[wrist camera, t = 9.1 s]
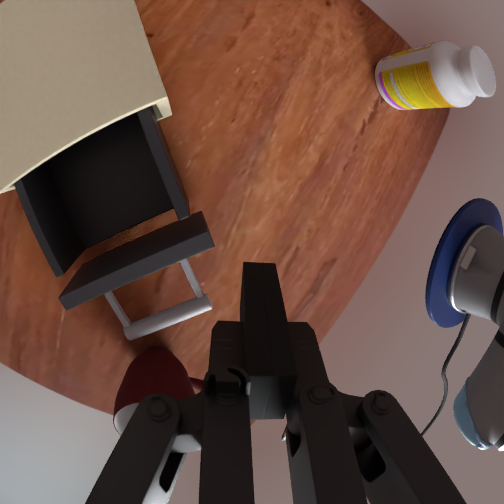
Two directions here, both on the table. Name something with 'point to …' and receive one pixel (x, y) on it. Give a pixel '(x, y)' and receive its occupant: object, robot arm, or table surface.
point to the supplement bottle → (435, 76)
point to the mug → (151, 383)
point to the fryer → (69, 76)
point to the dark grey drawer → (116, 216)
